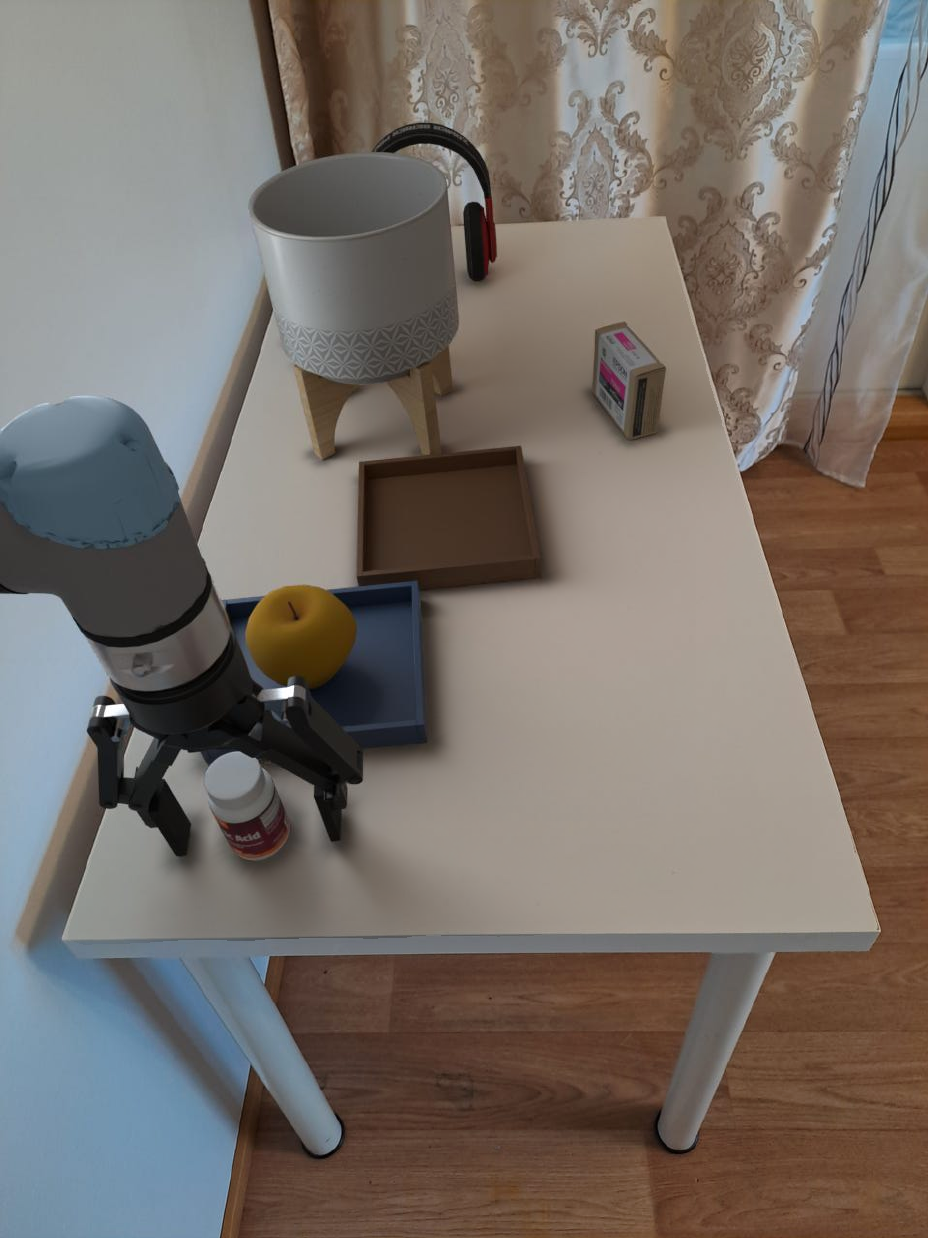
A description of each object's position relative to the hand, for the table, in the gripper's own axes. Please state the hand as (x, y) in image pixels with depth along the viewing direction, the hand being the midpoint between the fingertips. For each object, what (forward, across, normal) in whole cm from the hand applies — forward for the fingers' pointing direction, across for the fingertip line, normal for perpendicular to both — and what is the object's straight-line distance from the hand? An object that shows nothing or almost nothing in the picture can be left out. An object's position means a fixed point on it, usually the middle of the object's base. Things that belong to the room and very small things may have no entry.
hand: (260, 833), depth 69 cm
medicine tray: (0, +16, +33) cm, 37 cm away
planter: (0, +10, +52) cm, 53 cm away
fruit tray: (0, +4, +15) cm, 16 cm away
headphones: (0, +17, +84) cm, 86 cm away
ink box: (0, +37, +49) cm, 61 cm away
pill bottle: (0, 0, 0) cm, 0 cm away
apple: (0, +4, +15) cm, 15 cm away
